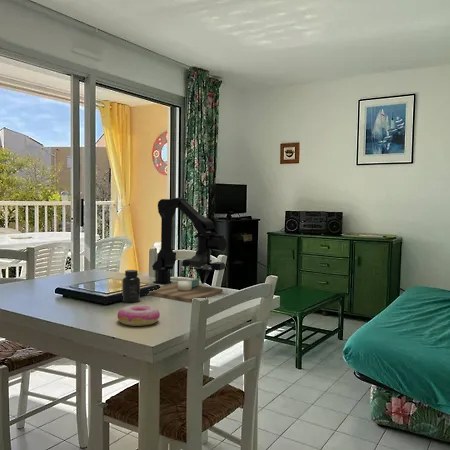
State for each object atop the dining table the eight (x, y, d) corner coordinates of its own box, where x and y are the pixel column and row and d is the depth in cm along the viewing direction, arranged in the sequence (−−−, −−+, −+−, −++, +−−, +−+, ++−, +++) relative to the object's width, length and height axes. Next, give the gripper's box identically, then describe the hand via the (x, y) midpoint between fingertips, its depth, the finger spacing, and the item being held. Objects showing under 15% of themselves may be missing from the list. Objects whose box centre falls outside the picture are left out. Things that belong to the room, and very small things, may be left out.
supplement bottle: (141, 299, 181) (142, 269, 180) (136, 303, 174) (137, 272, 173) (125, 298, 181) (125, 268, 181) (119, 302, 175) (120, 271, 174)
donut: (167, 323, 150) (168, 308, 150) (135, 331, 140) (135, 315, 140) (142, 314, 159) (142, 300, 159) (110, 321, 149) (110, 307, 149)
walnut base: (144, 294, 190) (144, 290, 189) (177, 285, 210) (178, 281, 210) (192, 303, 178) (192, 298, 178) (222, 292, 199) (222, 288, 199)
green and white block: (186, 291, 190) (186, 283, 190) (174, 289, 193) (175, 282, 193) (203, 286, 201) (203, 279, 201) (191, 284, 204) (192, 277, 204)
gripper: (176, 248, 195) (175, 284, 196) (214, 252, 187) (212, 289, 188) (189, 246, 205) (188, 280, 206) (226, 249, 197) (224, 285, 198)
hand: (202, 283), depth 199 cm, fingers closed
